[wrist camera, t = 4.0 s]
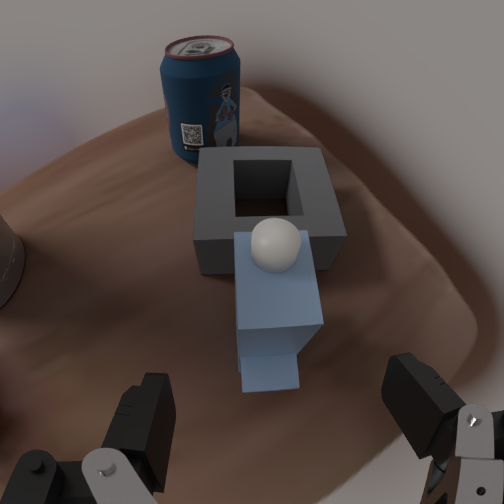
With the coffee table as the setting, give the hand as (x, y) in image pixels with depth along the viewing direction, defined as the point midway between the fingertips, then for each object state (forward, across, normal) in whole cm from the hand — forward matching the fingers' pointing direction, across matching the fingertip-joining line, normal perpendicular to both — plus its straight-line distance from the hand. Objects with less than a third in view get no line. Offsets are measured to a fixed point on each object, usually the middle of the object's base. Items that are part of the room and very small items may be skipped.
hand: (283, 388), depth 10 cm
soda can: (+24, +4, -10) cm, 27 cm away
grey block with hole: (+17, -1, -3) cm, 17 cm away
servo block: (+10, 0, +4) cm, 11 cm away
